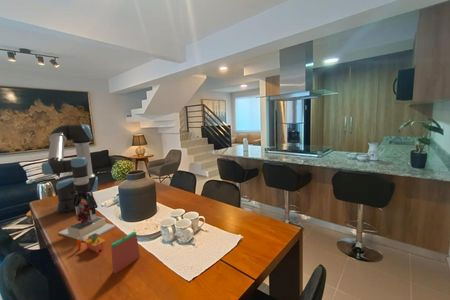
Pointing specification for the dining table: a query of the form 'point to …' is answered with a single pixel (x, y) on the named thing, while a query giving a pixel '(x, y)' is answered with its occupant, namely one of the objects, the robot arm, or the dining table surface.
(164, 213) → the dining table surface
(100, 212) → the dining table surface
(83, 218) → the toy fire truck
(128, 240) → the toy building block set
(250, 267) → the dining table surface
